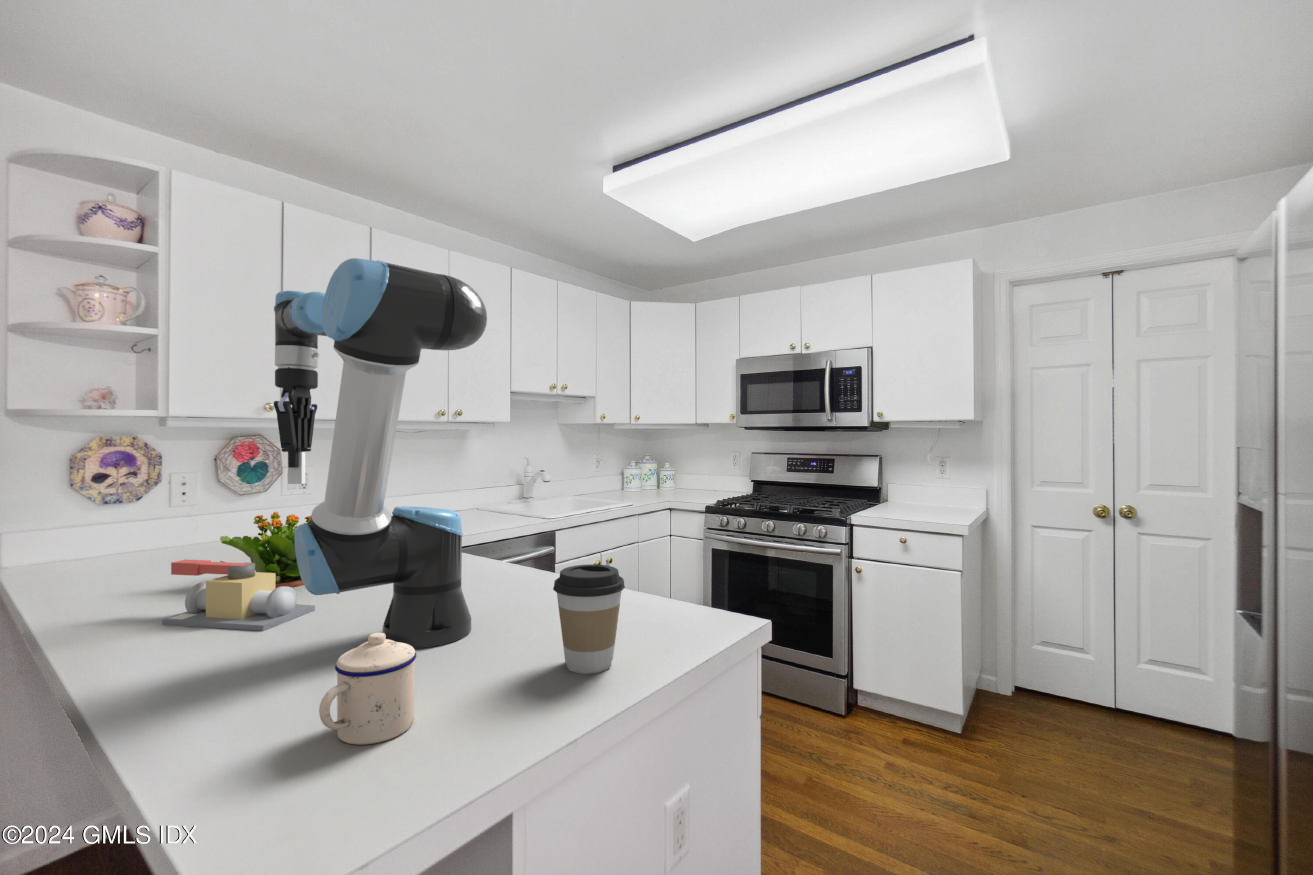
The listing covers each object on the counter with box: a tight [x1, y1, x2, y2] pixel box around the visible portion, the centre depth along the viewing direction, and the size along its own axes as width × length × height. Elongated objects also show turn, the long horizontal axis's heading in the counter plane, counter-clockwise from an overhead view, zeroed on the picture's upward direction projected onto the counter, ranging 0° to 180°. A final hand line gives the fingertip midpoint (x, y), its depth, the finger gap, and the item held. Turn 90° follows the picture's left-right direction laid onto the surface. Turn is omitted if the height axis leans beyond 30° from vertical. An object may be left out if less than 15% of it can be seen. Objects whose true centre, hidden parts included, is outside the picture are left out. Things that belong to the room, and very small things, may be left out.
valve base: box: [161, 571, 316, 632], centre depth 116 cm, size 22×13×8 cm, turn 81°
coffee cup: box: [552, 563, 626, 675], centre depth 92 cm, size 11×11×15 cm
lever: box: [170, 559, 256, 580], centre depth 117 cm, size 17×4×3 cm, turn 82°
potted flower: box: [219, 511, 312, 588], centre depth 141 cm, size 25×24×18 cm
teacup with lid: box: [318, 632, 417, 746], centre depth 71 cm, size 12×9×12 cm
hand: (296, 483), depth 120 cm, fingers closed
